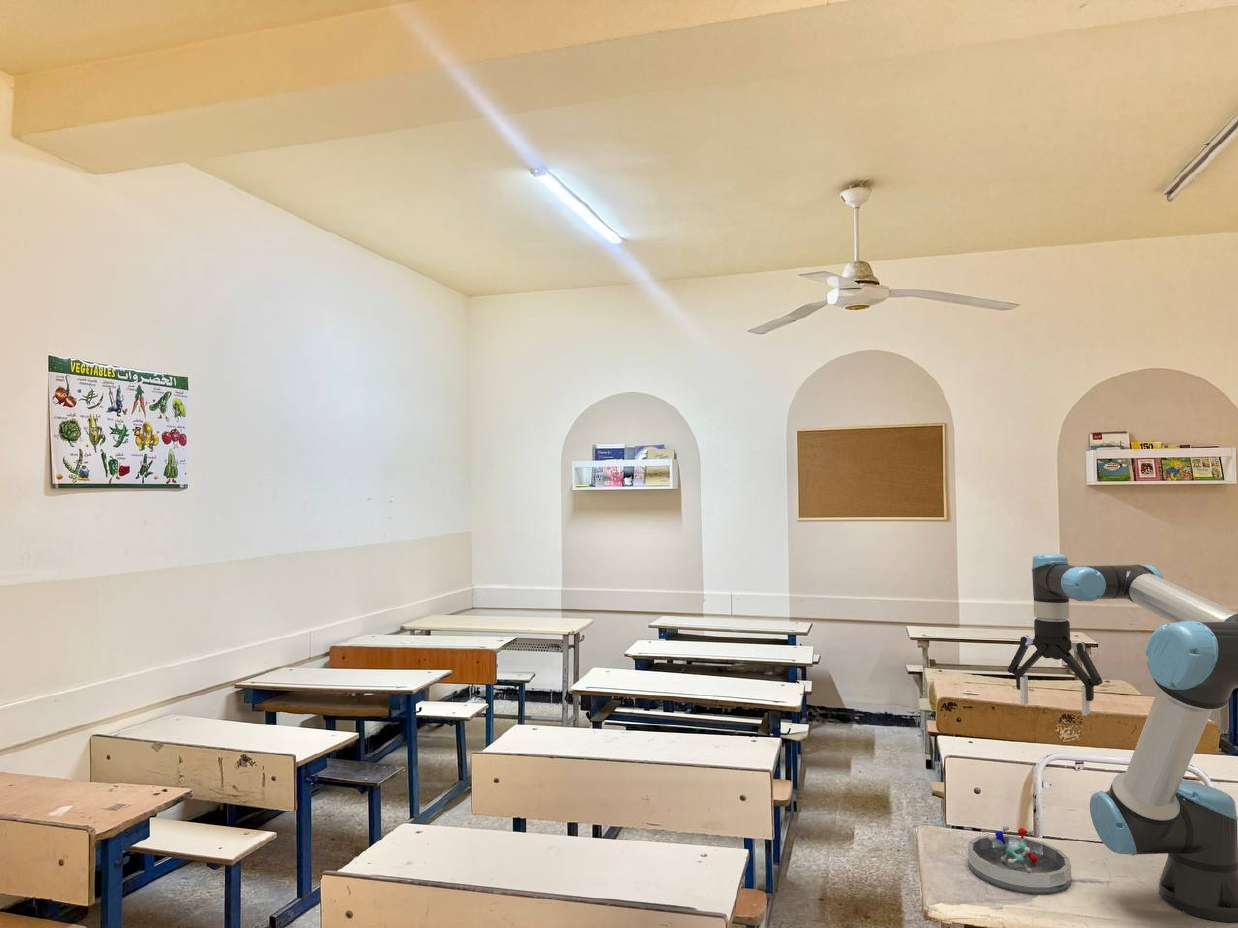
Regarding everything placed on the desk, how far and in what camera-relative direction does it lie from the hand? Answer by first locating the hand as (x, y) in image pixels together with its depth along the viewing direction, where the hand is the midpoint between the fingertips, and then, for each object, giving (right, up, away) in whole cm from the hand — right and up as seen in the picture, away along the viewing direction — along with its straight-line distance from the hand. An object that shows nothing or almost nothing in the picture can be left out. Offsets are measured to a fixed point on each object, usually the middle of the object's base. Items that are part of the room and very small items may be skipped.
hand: (1054, 709), depth 192 cm
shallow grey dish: (-16, -31, -15) cm, 38 cm away
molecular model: (-16, -30, -14) cm, 37 cm away
